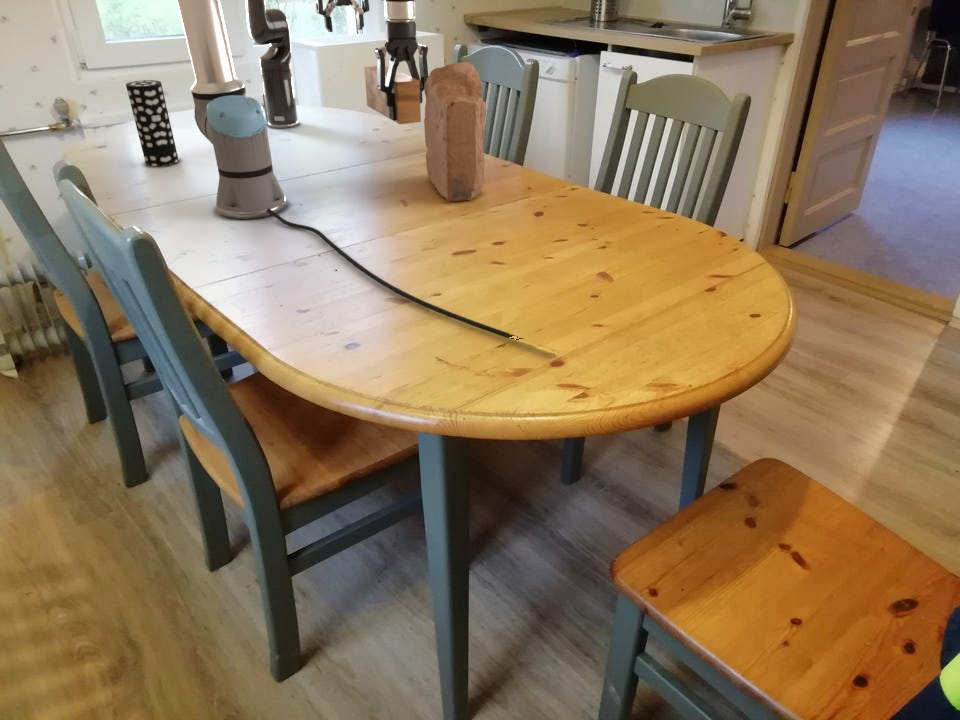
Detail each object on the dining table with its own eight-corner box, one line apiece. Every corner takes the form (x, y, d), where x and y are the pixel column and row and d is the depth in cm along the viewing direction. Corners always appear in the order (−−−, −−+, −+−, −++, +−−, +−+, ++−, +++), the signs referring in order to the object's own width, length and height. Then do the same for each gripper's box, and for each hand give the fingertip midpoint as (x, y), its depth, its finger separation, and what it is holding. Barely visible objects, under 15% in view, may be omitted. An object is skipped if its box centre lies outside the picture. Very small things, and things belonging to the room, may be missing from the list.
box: (421, 121, 179) (419, 80, 174) (399, 124, 177) (397, 82, 171) (387, 103, 196) (384, 65, 191) (367, 105, 194) (364, 67, 188)
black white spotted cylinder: (184, 157, 190) (167, 80, 179) (169, 166, 183) (151, 87, 172) (155, 156, 190) (136, 79, 179) (139, 165, 183) (119, 86, 172)
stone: (494, 199, 163) (495, 72, 149) (448, 204, 160) (444, 75, 146) (466, 175, 181) (465, 60, 167) (425, 179, 178) (420, 62, 164)
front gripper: (429, 16, 174) (431, 111, 187) (357, 20, 167) (365, 118, 179) (442, 20, 169) (443, 117, 181) (369, 23, 161) (375, 125, 173)
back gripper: (358, -39, 186) (364, 27, 194) (307, -38, 180) (315, 31, 188) (368, -38, 180) (374, 30, 188) (316, -37, 174) (324, 34, 183)
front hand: (404, 117), depth 180 cm, fingers closed on box, 6 cm apart
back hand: (345, 30), depth 188 cm, fingers open, 8 cm apart
